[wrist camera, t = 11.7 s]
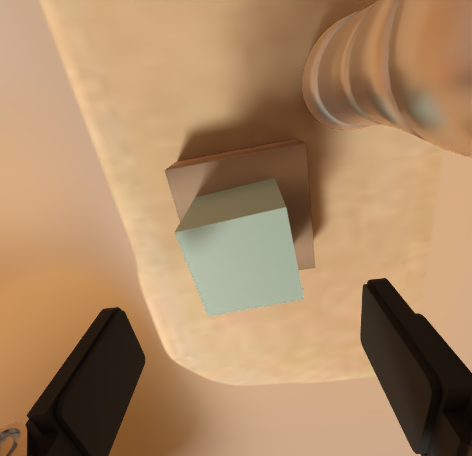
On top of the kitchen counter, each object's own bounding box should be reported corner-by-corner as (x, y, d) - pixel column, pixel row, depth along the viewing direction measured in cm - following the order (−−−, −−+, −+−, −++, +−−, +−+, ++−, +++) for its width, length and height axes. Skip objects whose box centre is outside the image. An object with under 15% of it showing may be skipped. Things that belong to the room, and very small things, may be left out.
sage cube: (194, 197, 19) (174, 232, 14) (274, 177, 18) (286, 207, 13) (217, 263, 22) (207, 316, 16) (289, 249, 21) (304, 299, 15)
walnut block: (178, 160, 22) (164, 170, 19) (295, 138, 21) (305, 143, 17) (205, 259, 26) (198, 283, 23) (305, 245, 25) (315, 267, 21)
